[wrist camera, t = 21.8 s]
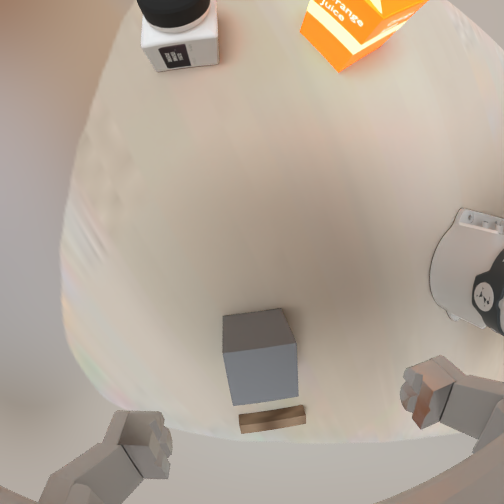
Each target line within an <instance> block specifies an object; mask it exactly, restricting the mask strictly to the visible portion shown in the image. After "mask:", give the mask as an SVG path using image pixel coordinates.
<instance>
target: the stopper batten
mask: <svg viewBox="0 0 504 504" xmlns="http://www.w3.org/2000/svg"><path fill="white" fill-rule="evenodd" d="M305 423H306V414H305V411H304V408H303V406H302V405H299V406H294V407H288V408H283V409H277V410H271V411H264V412H257V413H250V414H242V415H239V425H240V430H241V434H244V433H252V432H259V431H266V430H273V429H279V428H285V427H290V426H296V425H301V424H305Z"/></svg>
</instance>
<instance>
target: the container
mask: <svg viewBox="0 0 504 504" xmlns="http://www.w3.org/2000/svg"><path fill="white" fill-rule="evenodd" d="M137 3H138V5H139V7H140V9H141V11H142V13H143V19H142V32H141V48H142V50H143V51H144V53H145V54H146V56H147V58H148V59H149V61H150V62H151V64H152V66H153V67H154V69H155V70H156V71H157V72H160V71H166V70H173V69H180V68H187V67H196V66H205V65H216V64H218V63H219V44H218V22H217V0H137Z"/></svg>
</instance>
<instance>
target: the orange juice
mask: <svg viewBox="0 0 504 504" xmlns="http://www.w3.org/2000/svg"><path fill="white" fill-rule="evenodd" d="M427 1H428V0H310V2H309V5H308V8H307V12H306V15H305V18H304V21H303V24H302V27H301V30H300V33H301V34H302V35H303V36H305V37H306V38H307V39H308V40H309V41H310V42H311V44H312V45H313V46H314V47H315V48H316V49H317V50H318V51H319V52H320V53H321V54H322V55H323V56H324V57H325V58H326V59H327V60H328V62H329V63H330V64H331V65H332V66H333V67H334V68H335V69H336V70H337V72H338V73H339V72H340V71H342V70H343V69H345V68H346V67H348V66H350V65H351V64H353V63H354V62H356V61H357V60H359V59H361V58H362V57H364V56H366V55H367V54H369V53H370V52H372V51H374V50H375V49H377V48H379V47H380V46H381V45H382V44H383V43H384V42H385V41H386V40H387V39H388V38H389V37H390V36H391V35H392V34H393V33H394V32H395V31H396V30H398V29H399V28H400V27H401V26H402V25H403V24H404V23H405V22H406V21H407V20H408V19H409V18H410V17H411V16H412V15H413V14H414V13H415V12H416V11H417V10H418V9H419V8H421V7H422V6H423V5H424V4H425V3H426V2H427Z"/></svg>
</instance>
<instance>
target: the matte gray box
mask: <svg viewBox="0 0 504 504" xmlns="http://www.w3.org/2000/svg"><path fill="white" fill-rule="evenodd" d="M223 358H224V363H225V368H226V373H227V378H228V383H229V388H230V393H231V398H232V403H233V406H236V405H245V404H253V403H260V402H267V401H274V400H280V399H286V398H292V397H297V396H298V367H297V344H296V341H295V338H294V336H293V334H292V332H291V329H290V327H289V325H288V323H287V320H286V318H285V316H284V314H283V311H282V309H281V308H280V309H273V310H266V311H259V312H251V313H244V314H236V315H228V316H223Z"/></svg>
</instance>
